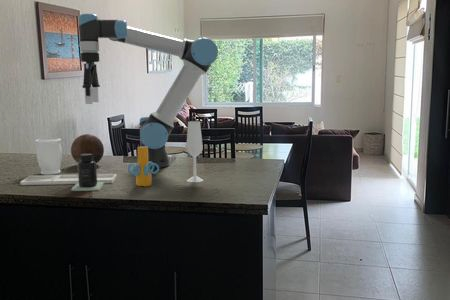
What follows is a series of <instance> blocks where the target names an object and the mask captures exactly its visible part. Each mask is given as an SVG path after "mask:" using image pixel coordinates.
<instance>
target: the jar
mask: <svg viewBox="0 0 450 300" xmlns="http://www.w3.org/2000/svg"><path fill="white" fill-rule="evenodd" d="M61 142H62V139H61V138H58V137H48V138H47V137H45V138H39V139H35V143H36V151H35V152H36V158H37V161H38V166H39V168H40V175H58V174H60V173H61V169H60V168H61V165H62V158H63V149H62V148H63V147H62V145H61Z"/></svg>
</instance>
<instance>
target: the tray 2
mask: <svg viewBox="0 0 450 300" xmlns="http://www.w3.org/2000/svg"><path fill="white" fill-rule="evenodd" d="M117 177H118V176H117V173H97V182H104V184H113V183H114V182H115V180H116V179H117Z"/></svg>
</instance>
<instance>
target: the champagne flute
mask: <svg viewBox="0 0 450 300" xmlns="http://www.w3.org/2000/svg"><path fill="white" fill-rule="evenodd" d="M201 129H202V127H201V121H199V120H197V121H196V120H191V121H187V133H186V146H185V147H186V149H185V150H186V152H187V154H189V155H190V156H191V157H192V159H193V160H192V168H193V171H192V172H193V174H192V175H193V176H191V177H190V178H188V179H187V180H186V181H187V182H188V183H201V182H203V181H204V179H202V178H200V176H198V175H197V157H198V156H199V155H200V154H201V153H202V152H203V150H204V149H203V146H204V145H203V137H202V130H201Z"/></svg>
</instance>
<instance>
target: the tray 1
mask: <svg viewBox="0 0 450 300" xmlns="http://www.w3.org/2000/svg"><path fill="white" fill-rule="evenodd" d="M58 176H59V175H58V174H52V175H43V174H40V175H29V176H27V177H25V178H24V179H22V180H21V181H19V183H20V184H19V185H20V186H44V185H46V186H47V185H48V186H51V185H52V181H53V180H54V179H55V178H56V177H58Z"/></svg>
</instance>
